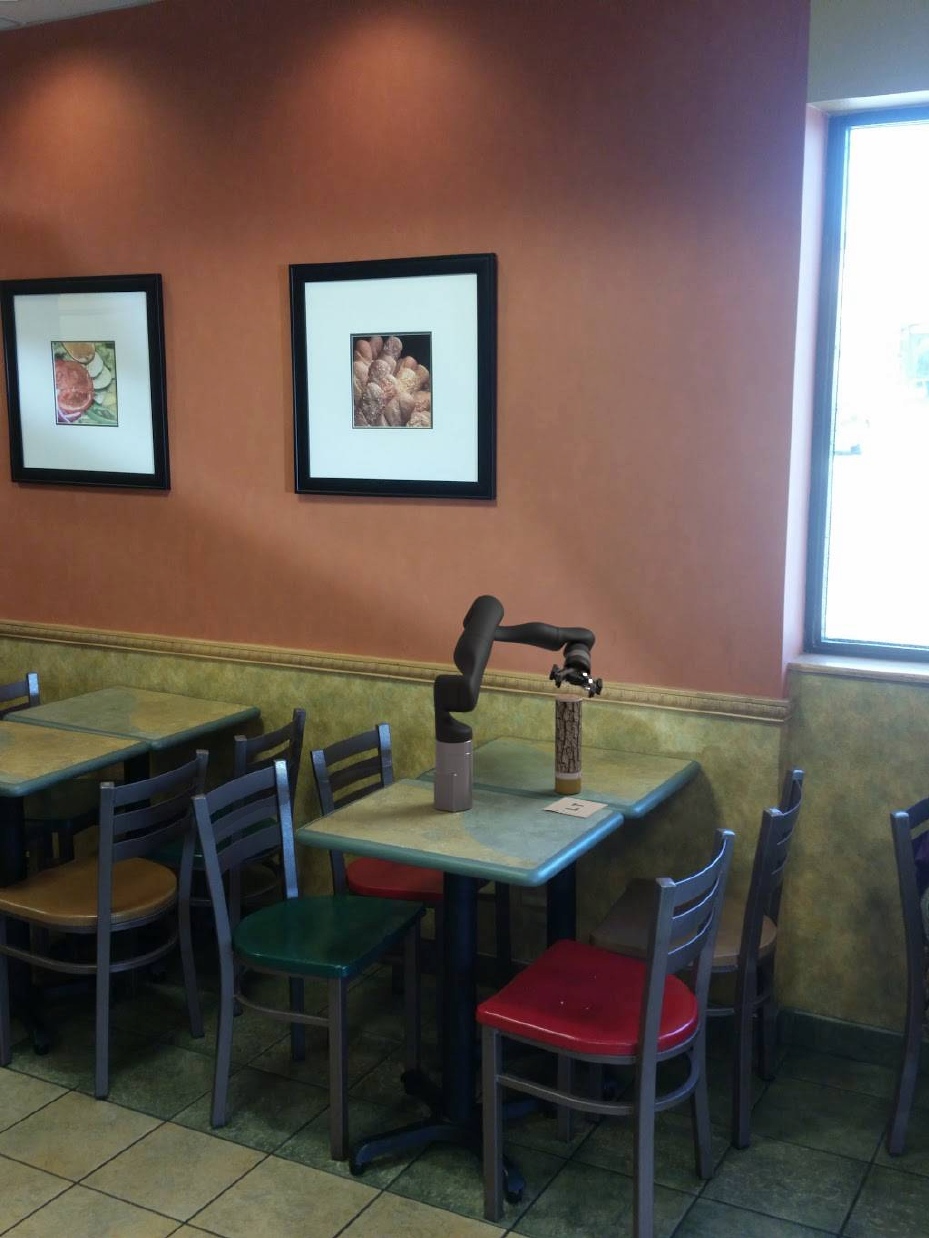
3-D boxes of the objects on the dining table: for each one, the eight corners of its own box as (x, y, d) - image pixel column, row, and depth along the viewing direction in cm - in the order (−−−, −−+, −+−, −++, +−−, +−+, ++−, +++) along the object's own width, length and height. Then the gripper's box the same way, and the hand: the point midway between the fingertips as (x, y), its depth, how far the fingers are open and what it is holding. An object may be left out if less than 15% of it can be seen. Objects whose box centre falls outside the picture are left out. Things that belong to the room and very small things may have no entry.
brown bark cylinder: (560, 796, 314) (560, 700, 310) (551, 788, 321) (551, 695, 317) (585, 794, 316) (586, 698, 312) (575, 786, 322) (576, 693, 319)
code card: (585, 818, 297) (585, 817, 297) (542, 809, 303) (542, 809, 303) (608, 805, 306) (608, 804, 306) (565, 797, 313) (565, 796, 313)
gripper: (556, 647, 335) (553, 669, 320) (606, 662, 335) (605, 685, 320) (548, 671, 338) (544, 694, 323) (597, 687, 338) (596, 710, 323)
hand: (575, 690), depth 321 cm, fingers open, 8 cm apart
